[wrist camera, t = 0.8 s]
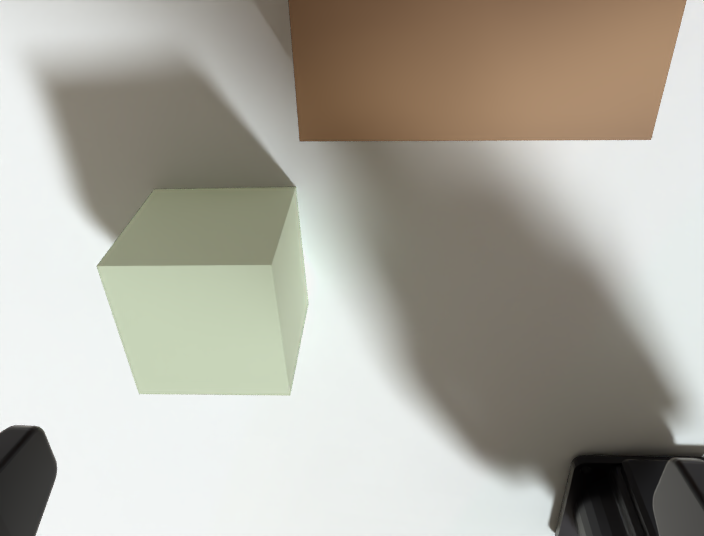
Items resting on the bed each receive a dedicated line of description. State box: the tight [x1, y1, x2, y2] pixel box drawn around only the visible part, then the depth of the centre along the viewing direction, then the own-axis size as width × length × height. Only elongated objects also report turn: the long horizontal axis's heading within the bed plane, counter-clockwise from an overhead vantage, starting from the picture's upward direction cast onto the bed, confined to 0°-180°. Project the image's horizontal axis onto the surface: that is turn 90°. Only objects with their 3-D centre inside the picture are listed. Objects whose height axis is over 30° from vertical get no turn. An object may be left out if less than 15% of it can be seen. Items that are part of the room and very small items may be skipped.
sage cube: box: [97, 187, 308, 395], centre depth 20 cm, size 5×5×5 cm
